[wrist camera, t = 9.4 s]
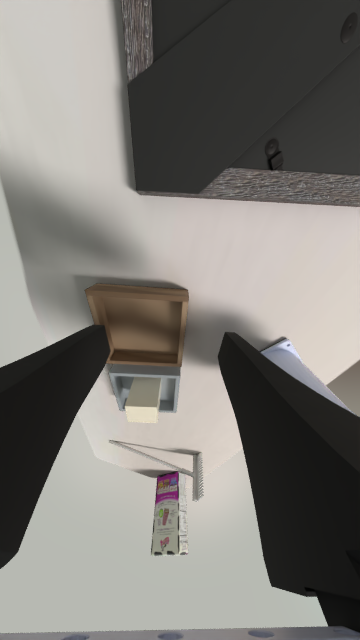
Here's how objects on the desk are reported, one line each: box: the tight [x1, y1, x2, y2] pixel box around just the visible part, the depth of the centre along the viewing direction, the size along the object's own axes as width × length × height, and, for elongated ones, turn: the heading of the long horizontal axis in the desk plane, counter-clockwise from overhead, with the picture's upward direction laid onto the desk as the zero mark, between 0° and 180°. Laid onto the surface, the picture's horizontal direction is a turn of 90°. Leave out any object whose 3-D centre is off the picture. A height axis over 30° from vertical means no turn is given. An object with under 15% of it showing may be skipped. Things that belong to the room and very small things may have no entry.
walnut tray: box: [85, 284, 189, 367], centre depth 18 cm, size 11×11×2 cm
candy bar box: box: [151, 471, 188, 556], centre depth 48 cm, size 11×5×16 cm, turn 128°
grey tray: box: [109, 364, 180, 413], centre depth 24 cm, size 11×11×2 cm
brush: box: [109, 440, 203, 502], centre depth 39 cm, size 4×28×9 cm, turn 65°
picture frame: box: [121, 0, 360, 207], centre depth 8 cm, size 16×2×21 cm
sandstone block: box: [125, 377, 161, 423], centre depth 23 cm, size 4×4×5 cm
